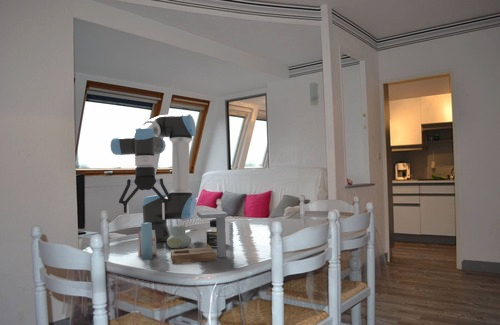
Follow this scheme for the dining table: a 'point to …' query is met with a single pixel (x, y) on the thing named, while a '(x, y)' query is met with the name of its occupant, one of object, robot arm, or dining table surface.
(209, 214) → the grey angled stand
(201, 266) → the dining table surface
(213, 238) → the medicine bottle
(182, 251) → the socket board
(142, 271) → the dining table surface
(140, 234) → the tea box
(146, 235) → the peg
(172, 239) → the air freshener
